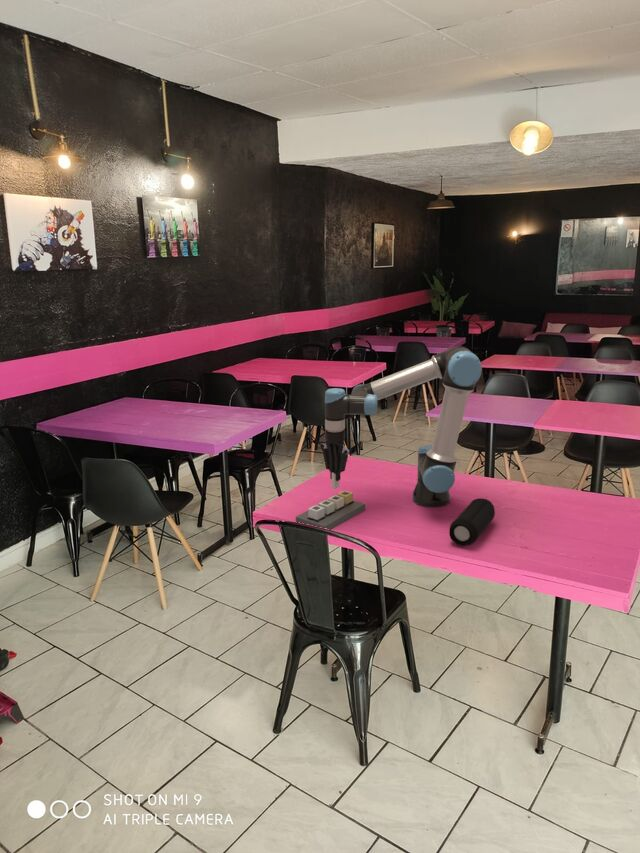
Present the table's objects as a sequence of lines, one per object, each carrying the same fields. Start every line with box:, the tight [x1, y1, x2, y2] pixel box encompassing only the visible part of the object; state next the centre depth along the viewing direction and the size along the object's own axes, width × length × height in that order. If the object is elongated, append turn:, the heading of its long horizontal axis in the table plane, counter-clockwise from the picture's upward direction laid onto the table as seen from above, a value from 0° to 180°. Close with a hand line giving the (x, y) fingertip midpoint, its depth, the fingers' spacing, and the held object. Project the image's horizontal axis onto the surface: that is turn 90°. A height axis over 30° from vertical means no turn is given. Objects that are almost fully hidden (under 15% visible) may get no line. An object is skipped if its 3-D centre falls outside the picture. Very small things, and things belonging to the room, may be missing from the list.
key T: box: [327, 494, 344, 509], centre depth 244 cm, size 4×4×4 cm
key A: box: [317, 499, 335, 515], centre depth 240 cm, size 4×4×4 cm
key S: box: [336, 490, 354, 504], centre depth 248 cm, size 4×4×4 cm
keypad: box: [295, 499, 366, 530], centre depth 243 cm, size 14×26×2 cm, turn 141°
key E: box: [307, 504, 325, 520], centre depth 235 cm, size 4×4×4 cm
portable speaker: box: [448, 498, 496, 547], centre depth 225 cm, size 26×10×10 cm, turn 148°
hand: (335, 487), depth 242 cm, fingers closed
